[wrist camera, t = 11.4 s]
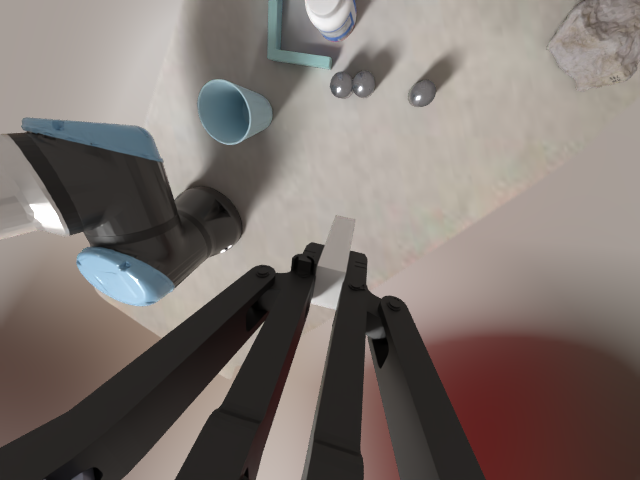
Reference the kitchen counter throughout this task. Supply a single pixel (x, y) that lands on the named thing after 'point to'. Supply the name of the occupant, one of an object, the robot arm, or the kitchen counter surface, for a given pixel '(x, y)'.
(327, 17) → the pill bottle
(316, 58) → the teal bay
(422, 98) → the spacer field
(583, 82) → the stone
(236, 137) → the cup
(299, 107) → the kitchen counter surface
